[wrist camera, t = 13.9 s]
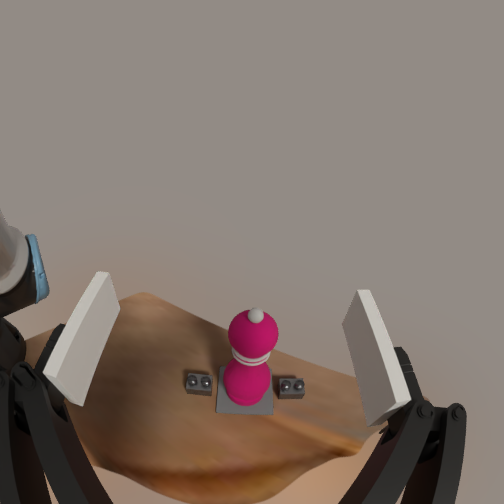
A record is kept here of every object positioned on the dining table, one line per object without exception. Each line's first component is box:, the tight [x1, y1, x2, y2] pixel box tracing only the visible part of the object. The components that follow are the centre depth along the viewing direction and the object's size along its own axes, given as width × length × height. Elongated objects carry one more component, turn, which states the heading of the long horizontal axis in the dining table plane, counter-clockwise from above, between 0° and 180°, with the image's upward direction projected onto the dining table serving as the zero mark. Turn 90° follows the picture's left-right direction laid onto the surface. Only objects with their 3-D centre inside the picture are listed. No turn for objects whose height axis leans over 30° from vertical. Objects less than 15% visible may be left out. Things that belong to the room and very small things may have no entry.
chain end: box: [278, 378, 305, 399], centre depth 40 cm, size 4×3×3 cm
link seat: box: [216, 366, 273, 415], centre depth 41 cm, size 9×9×1 cm
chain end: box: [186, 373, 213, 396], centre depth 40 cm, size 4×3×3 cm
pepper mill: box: [223, 308, 278, 406], centre depth 35 cm, size 7×7×20 cm
